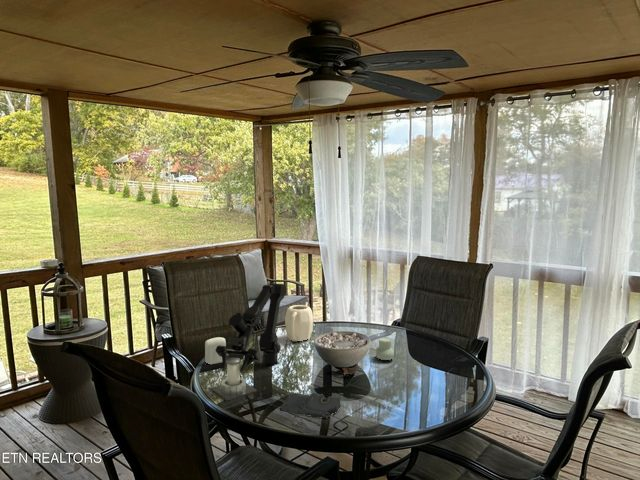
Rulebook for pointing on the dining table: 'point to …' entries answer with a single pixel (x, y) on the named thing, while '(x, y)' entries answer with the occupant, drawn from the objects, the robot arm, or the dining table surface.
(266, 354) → the robot arm
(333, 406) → the dark slate chunk
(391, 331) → the dining table surface
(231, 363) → the cream bottle
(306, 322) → the watering can
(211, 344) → the photo printer
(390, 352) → the air freshener
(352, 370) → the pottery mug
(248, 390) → the segmented ring base
